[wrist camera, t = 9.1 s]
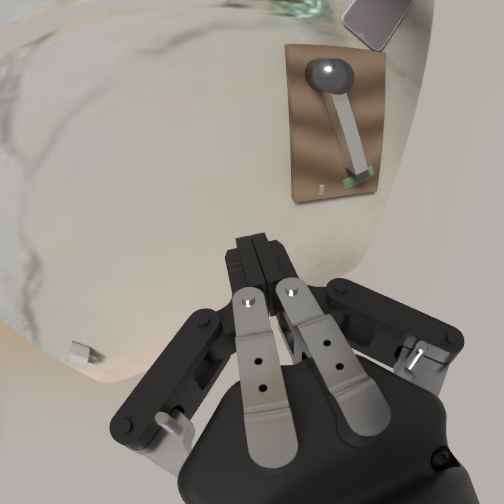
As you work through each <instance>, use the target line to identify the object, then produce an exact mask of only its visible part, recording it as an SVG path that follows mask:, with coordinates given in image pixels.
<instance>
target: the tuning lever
mask: <svg viewBox="0 0 504 504" xmlns="http://www.w3.org/2000/svg"><path fill="white" fill-rule="evenodd" d="M305 78H306V81H307V83H308V84H309V85H310V86H311V87H312V88H314V89H316V90H320V92H321V94H322V97H323V100H324V103H325V105H326V108H327V111H328V114H329V117H330V119H331V122H332V125H333V128H334V131H335V134H336V137H337V141H338V144H339V147H340V150H341V154H342V157H343V160H344V164H345V169H346V172H347V174H348V175H349V176H350V177H351V178H352V179H354V180H355V181H356V182H357V183H358V182H360V181H362V180H364V179H366V178H369V177H370V175H369V171H368V168H367V164H366V160H365V156H364V152H363V148H362V144H361V140H360V137H359V133H358V129H357V126H356V122H355V119H354V116H353V112H352V109H351V106H350V103H349V100H348V97H347V93H346V92H348V91H349V90H350V89H351V88H352V86H353V84H354V72H353V69H352V67H351V66H350V65H349V64H348V63H347V62H346V61H344V60H342V59H338V58H317V59H313V60H312V61H310V62H309V63H308V64H307V66H306V68H305Z"/></svg>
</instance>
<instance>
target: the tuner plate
mask: <svg viewBox="0 0 504 504" xmlns="http://www.w3.org/2000/svg"><path fill="white" fill-rule="evenodd" d="M285 57H286V71H287V87H288V104H289V124H290V149H291V186H292V199H293V201H294V202H295V203H297V202H303V201H310V200H316V199H323V198H330V197H337V196H344V195H351V194H359V193H366V192H374V191H377V186H378V178H379V170H380V161H381V151H382V139H383V125H384V106H385V53H383V52H377V51H371V50H364V49H356V48H348V47H338V46H325V45H306V44H287V45H285ZM317 58H338V59H342V60H344V61H346V62H347V63H348V64H349V65H350V66H351V67H352V69H353V72H354V84H353V86H352V88H351V89H350V90H349V91H348V92H346V93H347V97H348V100H349V103H350V106H351V109H352V112H353V116H354V119H355V122H356V126H357V129H358V133H359V137H360V140H361V144H362V148H363V152H364V156H365V160H366V164H367V168H368V171H369V175H370V177H369V178H366V179H364V180H362V181H360V182H358V183H357V182H356V181H355V180H354V179H352V178H351V177H350V176H349V175H348V174H347V172H346V169H345V164H344V160H343V157H342V154H341V150H340V147H339V144H338V141H337V137H336V134H335V131H334V128H333V125H332V122H331V119H330V117H329V114H328V111H327V108H326V105H325V103H324V100H323V97H322V94H321V92H320V90H316V89H314V88H312V87H311V86H310V85H309V84H308V83H307V81H306V78H305V68H306V66H307V64H308V63H309V62H310V61H312V60H313V59H317Z"/></svg>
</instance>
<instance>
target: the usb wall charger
mask: <svg viewBox="0 0 504 504" xmlns="http://www.w3.org/2000/svg"><path fill="white" fill-rule="evenodd" d="M89 351H90V348H89V347H87V346H84V345H81V344H78V343H76V342H73V341H72V344H71V348H70V353H69V358H68V362H69V363H72V364H75V365H78V366H81V367H84V368H86V365H87V362H90V363H93V364H95V362H96V361H93V360H90V359H88V358H91V359H94V360H97V359H96V358H97V357H95V356H92V355H89ZM98 361H99V358H98ZM96 365H97V362H96Z"/></svg>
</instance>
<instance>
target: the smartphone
mask: <svg viewBox="0 0 504 504" xmlns="http://www.w3.org/2000/svg"><path fill="white" fill-rule="evenodd" d="M413 1H414V0H353V1H352V3H351V4H350V6H349V7H348V8H347V10H346V11H345V12H344V14H343V15H342V17H341V22H342V24H343V25H344V26H345V27H346V28H348V29H349V30H350V31H351V32H352V33H354V34H355V35H356V36H357V37H358V38H360V39H361V40H362V41H363V42H364V43H365V44H366V45H368V46H369V47H370V48H371V49H372V50H377V51H379V50H381V49H382V48H383V47H384V45H385V44H386V42H387V41H388V39H389V37H390V36H391V34H392V33H393V31H394V30H395V28H396V27H397V25H398V24H399V22H400V21H401V19H402V18H403V16H404V15H405V13H406V12H407V10H408V9H409V7H410V6H411V4H412V3H413Z"/></svg>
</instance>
